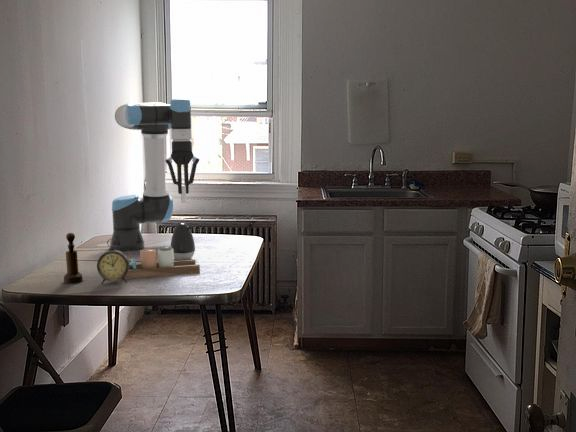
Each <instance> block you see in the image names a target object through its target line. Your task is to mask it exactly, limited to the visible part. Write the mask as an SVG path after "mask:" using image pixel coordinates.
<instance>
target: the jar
mask: <svg viewBox="0 0 576 432" xmlns="http://www.w3.org/2000/svg"><path fill="white" fill-rule="evenodd" d="M156 251H157V262H158V268H161V267H173V266H174V261H175V258H174V253H173V248H172V247H171V245H170V246H169V245H163V246H159V247H158V249H156Z"/></svg>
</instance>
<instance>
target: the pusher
mask: <svg viewBox="0 0 576 432" xmlns="http://www.w3.org/2000/svg"><path fill="white" fill-rule="evenodd" d="M136 264H137V261H136V260H135V258H131V259H130V265H131V266H129V268H131V269H132V270H136Z"/></svg>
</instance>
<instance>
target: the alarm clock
mask: <svg viewBox="0 0 576 432" xmlns="http://www.w3.org/2000/svg"><path fill="white" fill-rule="evenodd" d="M111 240H115V239H111V238H110V239H108V240H107V243H106V244H107V246H108V247H109V248H110V244H109V242H110V241H111ZM115 241H116V240H115ZM116 245H117V241H116ZM116 245H115V246H116ZM115 246H114V247H115ZM114 247H113V246H111V249H110V250H106V251H105V252H104V253H102V255H101V254H100V256H99V258H98V260H97V263H96V269H97V273H98V275H99V276H100V277H101V278H102V281H101V284H102V285H103V284H104V282H105V281H108V282H118V281H120V280H123V281H124V283H126V284H127V283H128V281H127V279H125V278H124V276H125V275H126V273H127V272H128V270H129V265H130V261H129V258H128V257H127V255H126V254H125V253H124V251H118V250H114V249H113V248H114Z"/></svg>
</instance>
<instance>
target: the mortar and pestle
mask: <svg viewBox="0 0 576 432" xmlns="http://www.w3.org/2000/svg"><path fill="white" fill-rule="evenodd" d="M75 235H76V234H74V232H68V233H67V234H66V236H65V238H66V241H67V242H68V244H67V249H68V250H67V251H65V259H66V260H65V261H66V271H67V272H66V273H65V274H64V275H63V282H64V283H65V284H68V283H72V284H77V283H81V282H83V281H84V279H83V274H82V273H81V272H79V263H78V262H79V260H78V251H77V250H75V244H74V241H75V238H76V236H75Z"/></svg>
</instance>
